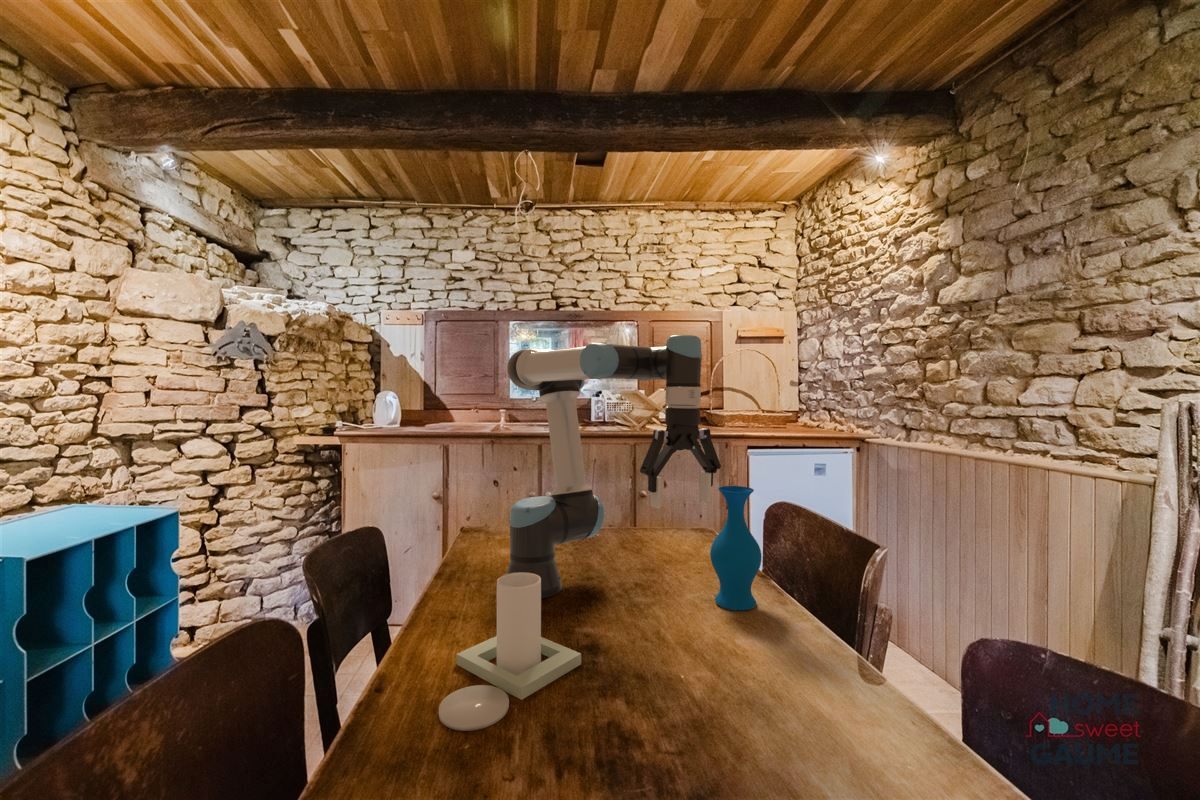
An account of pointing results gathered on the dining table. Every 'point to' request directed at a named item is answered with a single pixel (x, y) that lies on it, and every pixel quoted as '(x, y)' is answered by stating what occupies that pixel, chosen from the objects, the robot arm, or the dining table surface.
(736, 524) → the vase
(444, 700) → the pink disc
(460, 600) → the dining table surface
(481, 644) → the pale green rectangular frame
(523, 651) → the cup
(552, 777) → the dining table surface
